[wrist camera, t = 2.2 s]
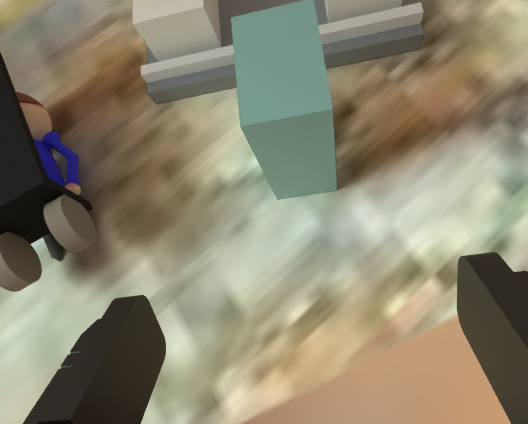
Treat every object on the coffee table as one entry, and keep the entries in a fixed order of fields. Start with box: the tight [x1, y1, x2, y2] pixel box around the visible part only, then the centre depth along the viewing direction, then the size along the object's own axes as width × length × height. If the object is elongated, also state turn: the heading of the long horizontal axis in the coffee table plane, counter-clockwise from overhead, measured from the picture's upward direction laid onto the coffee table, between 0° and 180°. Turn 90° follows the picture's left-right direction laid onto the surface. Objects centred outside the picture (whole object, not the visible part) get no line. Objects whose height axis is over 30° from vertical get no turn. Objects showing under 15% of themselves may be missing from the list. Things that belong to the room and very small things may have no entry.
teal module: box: [231, 0, 337, 200], centre depth 22 cm, size 4×6×10 cm, turn 6°
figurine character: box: [0, 53, 98, 292], centre depth 27 cm, size 7×8×15 cm
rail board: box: [141, 0, 424, 104], centre depth 29 cm, size 20×11×2 cm, turn 96°
